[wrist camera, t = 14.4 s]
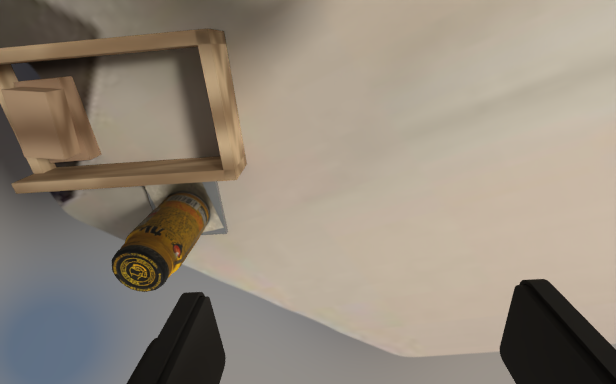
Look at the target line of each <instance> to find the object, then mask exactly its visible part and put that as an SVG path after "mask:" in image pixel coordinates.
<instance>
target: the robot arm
mask: <svg viewBox="0 0 616 384" xmlns="http://www.w3.org/2000/svg"><path fill="white" fill-rule="evenodd" d="M500 354H501V357H502V360H503V362H504V364H505V365H506V367H507V369H508V371H509V372H510V374H511V376H512V377H513V379H514V381H515V383H516V384H616V350H615V349H614V348H613V347H612V345H611V344H610V343H609V342H608V341H607V340H606V339H605V338H604V337H603V336H602V335H601V334H600V333H599V332H598V331H597V330H596V329H595V328H594V327H593V326H592V325H591V324H590V323H589V322H588V321H587V320H586V319H585V318H584V317H583V316H582V315H581V314H580V313H579V312H578V311H577V310H576V309H575V308H574V307H573V306H572V305H571V304H570V303H569V302H568V301H567V299H566V298H565V297H564V296H563V295H562V294H561V293H560V292H559V291H558V290H557V289H556V288H555V287H554V286H553V285H552V284H551V283H550V282H549V281H547V280H545V279H536V280H522V281H521V282H520V285H517V286H516V287H515V289H514V293H513V297H512V301H511V305H510V309H509V313H508V317H507V321H506V325H505V329H504V333H503V337H502V341H501V345H500ZM224 366H225V352H224V349H223V345H222V341H221V338H220V334H219V331H218V327H217V323H216V319H215V316H214V312H213V309H212V305H211V302H210V298H209V297H205V296H204V294H203V293H202V292H192V293H183V294H182V295H181V297H180V298H179V300H178V302H177V304H176V306H175V308H174V309H173V311H172V313H171V315H170V316H169V318H168V320H167V322H166V323H165V325H164V327H163V329H162V331H161V332H160V334H159V336H158V338H155V339H154V340H153V341H152V342H151V343H150V345H149V346H148V348H147V349H146V351H145V353H144V355H143V356H142V358H141V360H140V361H139V363H138V365H137V367H136V369H135V370H134V372H133V374H132V375H131V377H130V379H129V381H128V383H127V384H219V383H220V380H221V376H222V373H223V370H224Z"/></svg>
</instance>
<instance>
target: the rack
mask: <svg viewBox="0 0 616 384" xmlns="http://www.w3.org/2000/svg"><path fill="white" fill-rule="evenodd" d="M191 47H198V49H199V54H200V58H201V63H202V68H203V73H204V78H205V83H206V88H207V92H208V97H209V102H210V107H211V112H212V117H213V122H214V126H215V131H216V136H217V141H218V146H219V151H220V156H219V157H204V158H189V159H174V160H159V161H144V162H129V163H114V164H100V165H85V166H70V167H56V166H55V164H54V163H50V161H49V159H45V158H29V157H26V158H27V160H28V163H29V165H30V167H31V169H32V171H33V173H34V174H32V175H30V176H28V177H26V178H23V179H21V180H19V181H17V182H14V183H12V186H13V188H14V190H15V192H16V193H17V194H18V193H33V192H50V191H66V190H82V189H98V188H115V187H131V186H147V185H163V184H179V183H195V182H212V181H228V180H237V179H238V177H239V175H240V174H241V172H242V171H243V169H244V168H245V166H246V164H247V163H246V157H245V151H244V146H243V140H242V134H241V128H240V122H239V116H238V111H237V105H236V99H235V93H234V87H233V82H232V76H231V70H230V64H229V58H228V52H227V47H226V41H225V35H224V31H219V30H213V29H198V30H187V31H177V32H166V33H156V34H145V35H135V36H124V37H114V38H103V39H93V40H82V41H72V42H61V43H51V44H40V45H30V46H19V47H9V48H0V104H1V106H2V108H3V110H4V112H5V114H6V117H7V119H8V121H9V123H10V125H11V127H12V129H13V131H14V133H15V135H16V137H17V134H16V132H15V129H14V126H13V123H12V120H11V117H10V115H9V112H8V109H7V106H6V103H5V100H4V97H3V95H2V92H1V90H2V89H9V88H16V87H15V85H14V83H13V82H18V80H17V77H16V75H15V73H14V71H13V68H12V66H11V64H15V63H27V62H38V61H49V60H60V59H71V58H81V57H92V56H103V55H114V54H125V53H136V52H147V51H158V50H169V49H180V48H191ZM17 140H18V137H17ZM18 142H19V140H18ZM19 144H20V143H19Z"/></svg>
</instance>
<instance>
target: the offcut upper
mask: <svg viewBox="0 0 616 384" xmlns="http://www.w3.org/2000/svg"><path fill="white" fill-rule="evenodd" d="M1 92H2V95H3V97H4V100H5V103H6V106H7V109H8V112H9V115H10V117H11V120H12V123H13V126H14V129H15V132H16V134H17V137H18V140H19V143H20V146H21V149H22V152H23V154H24V157H29V158H45V159H61V160H65V159H68V158H70V157H72V156H74V155H76V154H79V153H81V151H80V147H79V144H78V140H77V136H76V133H75V129H74V125H73V121H72V118H71V114H70V110H69V106H68V103H67V99H66V95H65V92H64V89H53V88H36V87H17V88H9V89H2V90H1Z"/></svg>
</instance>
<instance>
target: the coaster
mask: <svg viewBox="0 0 616 384" xmlns="http://www.w3.org/2000/svg"><path fill="white" fill-rule="evenodd" d="M202 183H203V185H204V187H205V189H206V192H207V194H208V196H209V198H210V200H211V202H212V203H213V206H214V208H215V210H216V212H217V214H218V216H219V219H220V221H221V223H222V225H223V227H224V228H221V229H217V230H212V231H207V232H203V233H202V234H201V235H211V234H227V232H228V229H227V225H226V220H225V216H224V211H223V207H222V202H221V197H220V193H219V188H218V184H217V181H212V182H202ZM146 191H147V190H146ZM147 194H148V198H149V201H150V204H151V207H152V210H154V209H155V208H156V206H155V205H154V203H153V201H152V199H151V198H150V195H149V193H148V192H147ZM166 197H167V196H166Z"/></svg>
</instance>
